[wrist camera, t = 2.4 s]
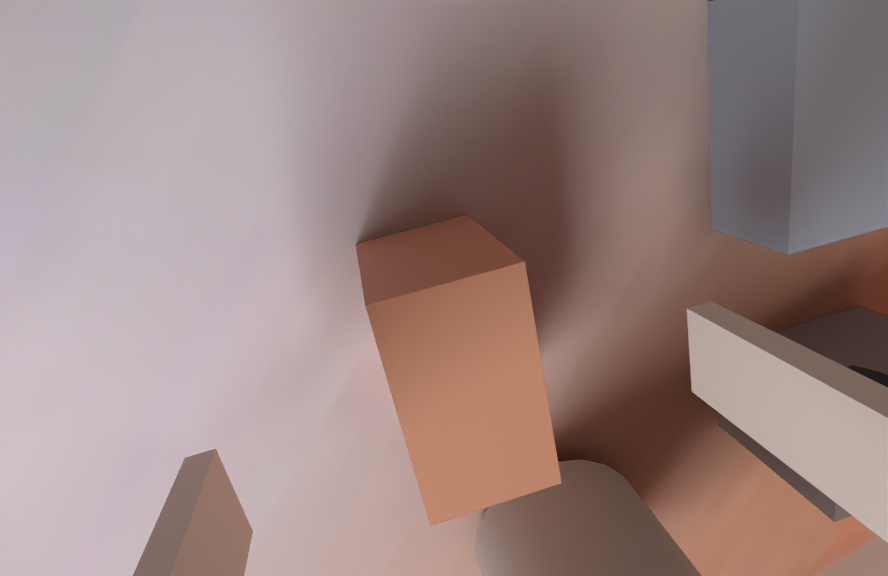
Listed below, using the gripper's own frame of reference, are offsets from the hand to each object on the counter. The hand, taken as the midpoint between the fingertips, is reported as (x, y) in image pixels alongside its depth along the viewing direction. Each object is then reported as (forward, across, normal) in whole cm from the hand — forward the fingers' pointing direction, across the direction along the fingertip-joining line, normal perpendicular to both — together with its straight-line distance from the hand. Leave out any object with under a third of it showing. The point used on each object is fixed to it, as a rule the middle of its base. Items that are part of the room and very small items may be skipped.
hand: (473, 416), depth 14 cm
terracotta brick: (+6, 0, +1) cm, 6 cm away
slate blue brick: (+6, +16, +5) cm, 17 cm away
